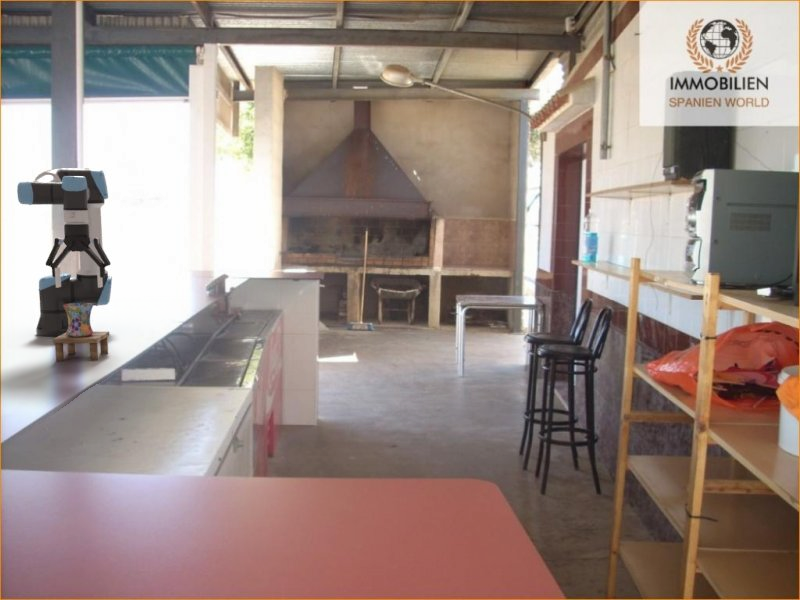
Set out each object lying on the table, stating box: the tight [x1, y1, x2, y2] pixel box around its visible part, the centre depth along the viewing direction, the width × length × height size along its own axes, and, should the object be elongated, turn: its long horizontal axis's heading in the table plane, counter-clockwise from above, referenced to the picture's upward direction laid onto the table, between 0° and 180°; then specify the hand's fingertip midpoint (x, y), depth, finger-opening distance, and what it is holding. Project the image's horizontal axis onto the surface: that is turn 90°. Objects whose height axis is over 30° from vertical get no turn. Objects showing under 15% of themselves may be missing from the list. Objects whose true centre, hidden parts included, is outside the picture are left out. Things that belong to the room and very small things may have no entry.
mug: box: [63, 303, 94, 337], centre depth 256 cm, size 12×9×11 cm
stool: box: [52, 331, 110, 362], centre depth 257 cm, size 14×14×7 cm
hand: (79, 287), depth 255 cm, fingers open, 13 cm apart
